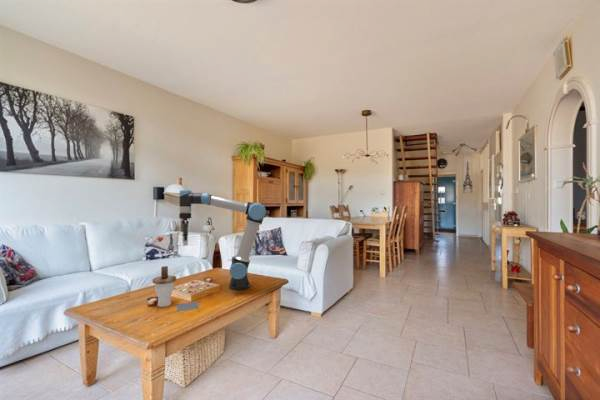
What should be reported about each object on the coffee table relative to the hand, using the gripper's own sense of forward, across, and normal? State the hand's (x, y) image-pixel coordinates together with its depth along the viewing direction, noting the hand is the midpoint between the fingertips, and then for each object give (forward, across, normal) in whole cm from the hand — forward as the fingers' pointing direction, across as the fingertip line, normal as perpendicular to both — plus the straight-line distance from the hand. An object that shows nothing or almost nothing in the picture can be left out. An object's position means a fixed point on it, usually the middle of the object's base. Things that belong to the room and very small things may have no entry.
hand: (185, 244), depth 191 cm
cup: (+35, +15, -12) cm, 40 cm away
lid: (+20, +15, -12) cm, 28 cm away
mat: (+35, +24, +1) cm, 42 cm away
